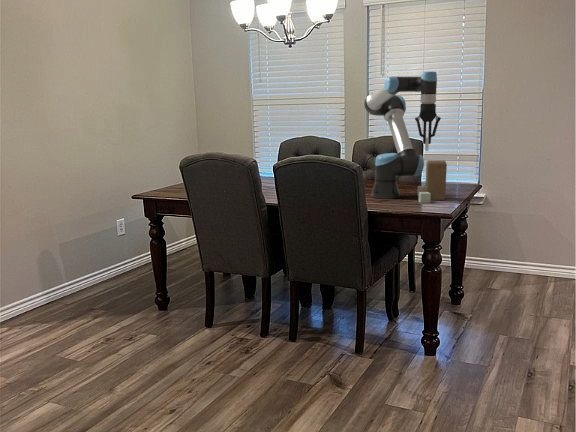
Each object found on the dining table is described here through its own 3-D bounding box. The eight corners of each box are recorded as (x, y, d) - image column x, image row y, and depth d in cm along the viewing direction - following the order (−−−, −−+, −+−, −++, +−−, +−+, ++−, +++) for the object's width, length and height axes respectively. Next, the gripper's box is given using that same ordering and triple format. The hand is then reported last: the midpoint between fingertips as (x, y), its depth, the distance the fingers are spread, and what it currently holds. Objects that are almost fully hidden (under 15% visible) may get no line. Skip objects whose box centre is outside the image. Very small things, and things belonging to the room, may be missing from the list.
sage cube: (420, 203, 292) (420, 193, 291) (418, 201, 297) (418, 192, 296) (430, 203, 292) (430, 193, 291) (428, 201, 297) (428, 191, 296)
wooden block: (445, 200, 297) (446, 162, 293) (425, 200, 299) (426, 162, 295) (443, 197, 307) (445, 160, 303) (424, 197, 309) (426, 160, 305)
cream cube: (417, 196, 312) (417, 187, 311) (418, 194, 317) (418, 185, 316) (426, 196, 311) (427, 187, 310) (427, 195, 315) (427, 186, 314)
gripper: (415, 103, 282) (414, 151, 287) (442, 103, 280) (440, 151, 285) (414, 103, 290) (413, 149, 294) (440, 103, 288) (439, 149, 292)
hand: (426, 150), depth 290 cm, fingers closed
